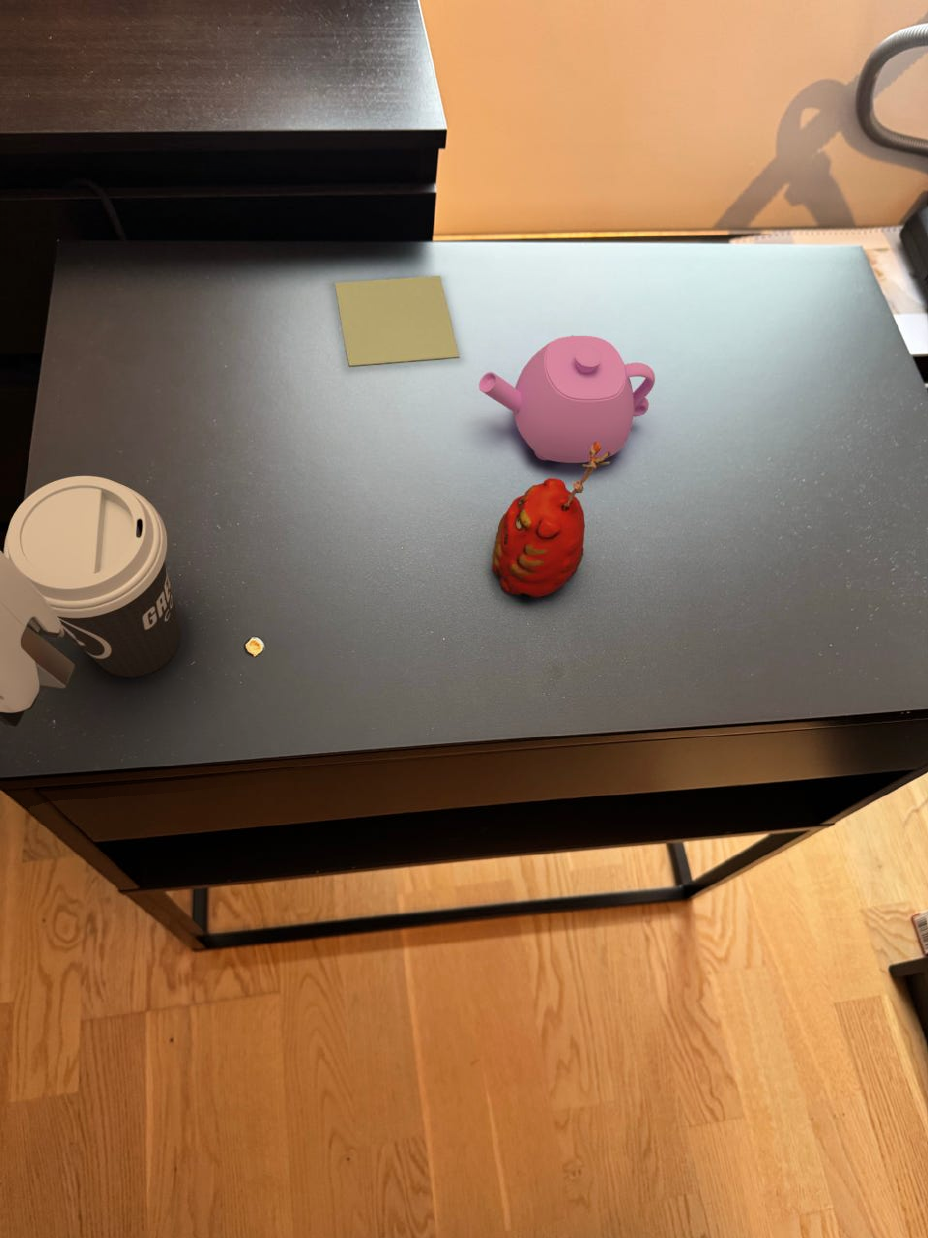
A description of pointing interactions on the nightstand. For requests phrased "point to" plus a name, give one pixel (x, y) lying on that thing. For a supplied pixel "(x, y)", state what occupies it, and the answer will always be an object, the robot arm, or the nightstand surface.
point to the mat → (395, 321)
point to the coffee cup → (100, 570)
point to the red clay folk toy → (542, 536)
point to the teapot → (574, 398)
